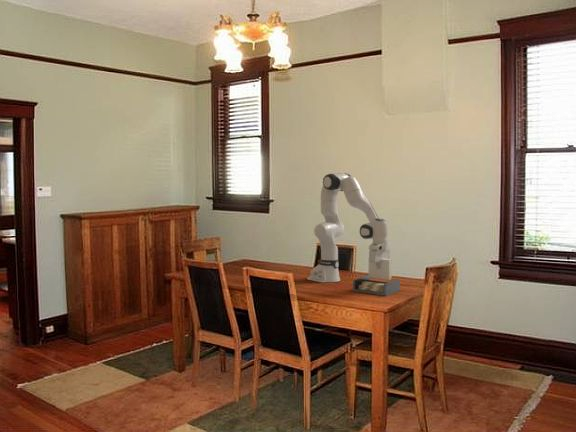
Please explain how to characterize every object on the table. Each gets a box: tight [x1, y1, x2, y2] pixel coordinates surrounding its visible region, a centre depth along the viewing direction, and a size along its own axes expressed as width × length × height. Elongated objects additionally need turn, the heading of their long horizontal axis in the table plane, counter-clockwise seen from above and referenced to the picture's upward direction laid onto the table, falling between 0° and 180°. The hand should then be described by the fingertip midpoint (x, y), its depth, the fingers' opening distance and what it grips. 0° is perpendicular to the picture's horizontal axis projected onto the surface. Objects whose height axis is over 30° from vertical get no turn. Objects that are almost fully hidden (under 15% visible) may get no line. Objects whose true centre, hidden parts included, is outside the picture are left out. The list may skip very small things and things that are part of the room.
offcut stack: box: [359, 281, 384, 292], centre depth 321 cm, size 16×6×4 cm, turn 52°
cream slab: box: [367, 258, 393, 281], centre depth 327 cm, size 14×3×12 cm, turn 52°
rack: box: [352, 274, 401, 297], centre depth 324 cm, size 22×18×7 cm
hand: (379, 268), depth 327 cm, fingers closed on cream slab, 3 cm apart
